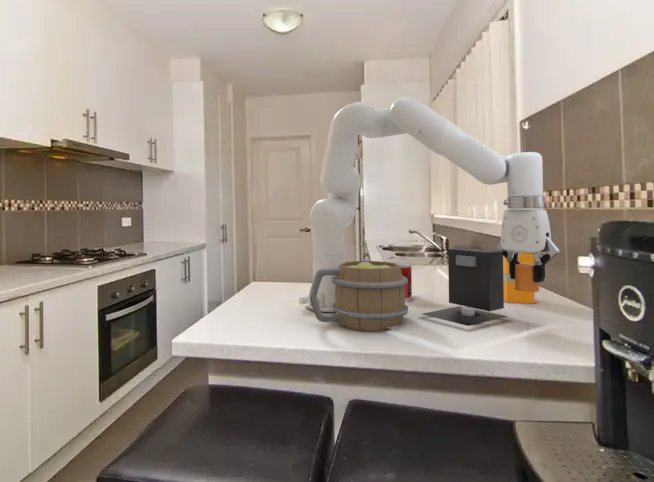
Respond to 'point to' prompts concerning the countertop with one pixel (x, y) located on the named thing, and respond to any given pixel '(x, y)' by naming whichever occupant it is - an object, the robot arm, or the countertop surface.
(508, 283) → the orange juice
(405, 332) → the countertop surface
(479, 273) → the coffee maker
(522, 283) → the container
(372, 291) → the mug
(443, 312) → the base
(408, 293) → the canned food
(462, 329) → the countertop surface
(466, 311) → the button
